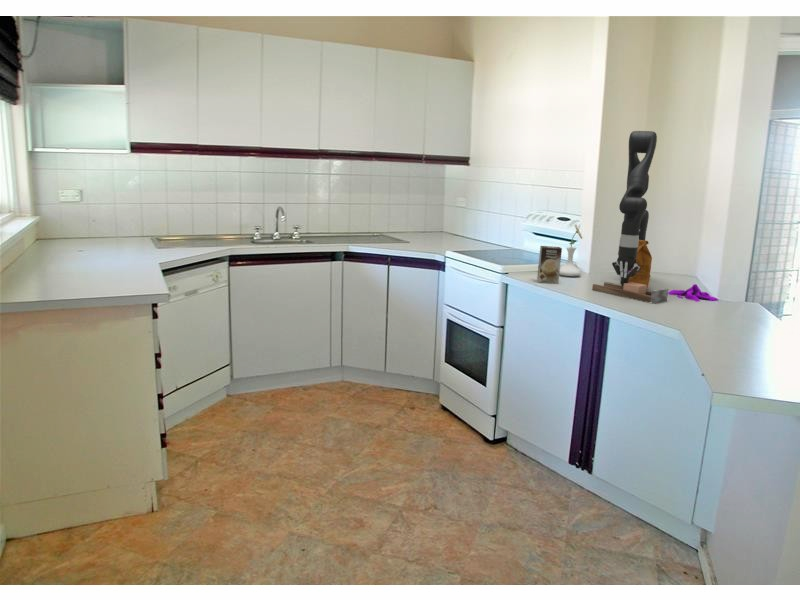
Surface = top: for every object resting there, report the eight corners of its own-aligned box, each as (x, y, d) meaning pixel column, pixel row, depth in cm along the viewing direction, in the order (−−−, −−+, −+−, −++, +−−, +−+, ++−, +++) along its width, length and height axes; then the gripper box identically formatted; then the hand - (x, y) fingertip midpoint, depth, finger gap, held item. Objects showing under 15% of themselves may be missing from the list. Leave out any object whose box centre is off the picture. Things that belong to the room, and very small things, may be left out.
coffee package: (640, 285, 296) (646, 237, 292) (650, 290, 284) (656, 241, 279) (619, 284, 296) (624, 236, 292) (628, 290, 284) (634, 240, 279)
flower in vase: (576, 278, 306) (581, 226, 301) (553, 275, 312) (557, 223, 307) (584, 275, 317) (590, 224, 312) (562, 272, 323) (567, 222, 318)
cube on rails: (605, 287, 287) (606, 276, 286) (666, 301, 264) (668, 289, 263) (592, 289, 281) (593, 278, 280) (653, 303, 259) (655, 291, 257)
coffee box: (538, 282, 294) (541, 247, 290) (536, 279, 300) (539, 245, 296) (558, 283, 293) (562, 248, 289) (556, 281, 299) (560, 246, 296)
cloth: (661, 292, 285) (662, 278, 284) (702, 293, 285) (704, 280, 284) (682, 303, 263) (684, 289, 262) (728, 305, 263) (730, 290, 262)
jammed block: (630, 293, 275) (632, 282, 274) (645, 296, 270) (647, 285, 269) (622, 295, 272) (623, 283, 271) (637, 298, 266) (638, 286, 265)
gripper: (647, 247, 267) (642, 288, 271) (620, 242, 277) (615, 282, 281) (637, 248, 263) (632, 289, 267) (609, 243, 273) (605, 284, 277)
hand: (623, 286), depth 274 cm, fingers closed
